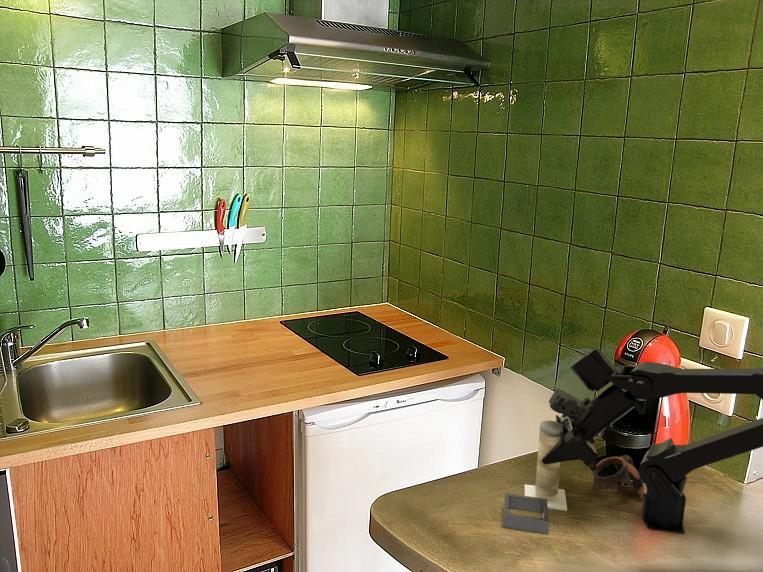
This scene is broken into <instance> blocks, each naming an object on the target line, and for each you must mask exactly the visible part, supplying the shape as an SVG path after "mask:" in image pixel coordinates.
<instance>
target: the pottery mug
mask: <svg viewBox="0 0 763 572" xmlns="http://www.w3.org/2000/svg"><path fill="white" fill-rule="evenodd" d="M613 464H614V467H615V469H616V471H617V472H616V473H614V474H612V475H606V476H601V475H600V474H599V472H600V471H602V470H603V469H604V468H606V467H608V466H610V465H613ZM598 474H599V475H598ZM592 475H593V481H592V484H593V485H594V487H595V488H597V489H600V490H613V491H615V492H617V493H618V484H619V483H621V484H623V485H628V486H632V488H633V490H638V492H637V494H638V496H639V501H640V502H642V500H643V494H644V493H645V491H644V490H645V489H644V488H645V487H644V482H643V481H642V480H641V478H640V476H639V470H637V469H636V467H635V466H634V462H633V459H632V458H631V456H629V455H627V454H625V455H621V456H610V457H606V458H604V459H602V460H601V461H599V462H598V463H597V464H596V465H595V469H593V470H592Z"/></svg>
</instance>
